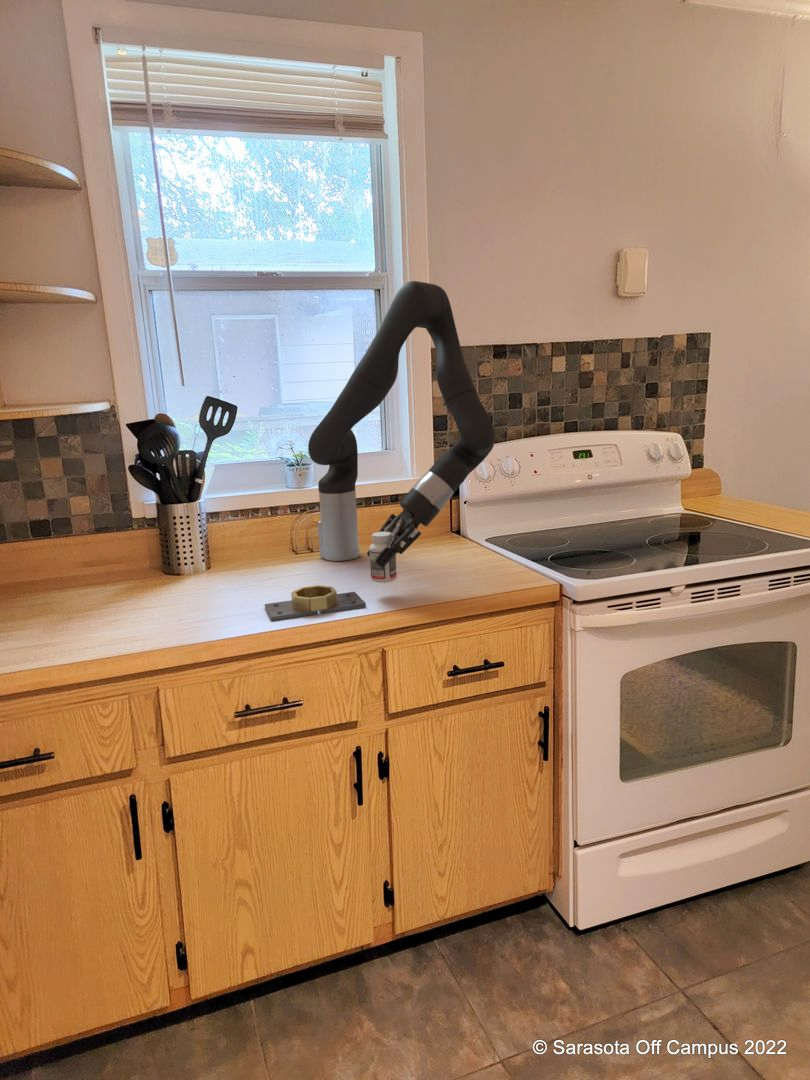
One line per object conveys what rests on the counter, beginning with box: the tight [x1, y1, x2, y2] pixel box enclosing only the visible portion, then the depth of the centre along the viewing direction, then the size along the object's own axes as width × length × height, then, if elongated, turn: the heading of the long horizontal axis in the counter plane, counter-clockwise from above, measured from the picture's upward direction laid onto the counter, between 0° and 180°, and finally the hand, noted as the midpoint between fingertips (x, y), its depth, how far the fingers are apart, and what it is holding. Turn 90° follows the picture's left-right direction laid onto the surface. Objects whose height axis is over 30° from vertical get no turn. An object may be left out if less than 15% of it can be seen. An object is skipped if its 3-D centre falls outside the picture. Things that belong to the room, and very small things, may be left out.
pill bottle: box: [368, 531, 398, 583], centre depth 149 cm, size 5×5×10 cm
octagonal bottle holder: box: [264, 584, 367, 622], centre depth 146 cm, size 19×9×3 cm, turn 109°
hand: (374, 560), depth 149 cm, fingers closed on pill bottle, 5 cm apart
